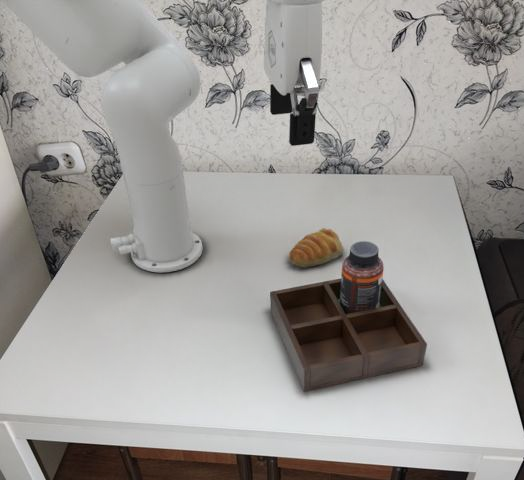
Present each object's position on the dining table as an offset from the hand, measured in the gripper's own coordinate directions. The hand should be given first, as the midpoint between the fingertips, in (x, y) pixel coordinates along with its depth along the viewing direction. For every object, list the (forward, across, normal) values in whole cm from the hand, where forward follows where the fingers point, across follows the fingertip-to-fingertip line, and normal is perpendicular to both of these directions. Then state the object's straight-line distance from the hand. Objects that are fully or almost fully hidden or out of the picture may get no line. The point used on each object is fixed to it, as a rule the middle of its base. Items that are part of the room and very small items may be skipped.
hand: (291, 127), depth 79 cm
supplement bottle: (+25, +11, +8) cm, 29 cm away
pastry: (+26, -6, +7) cm, 28 cm away
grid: (+26, +16, +4) cm, 30 cm away
